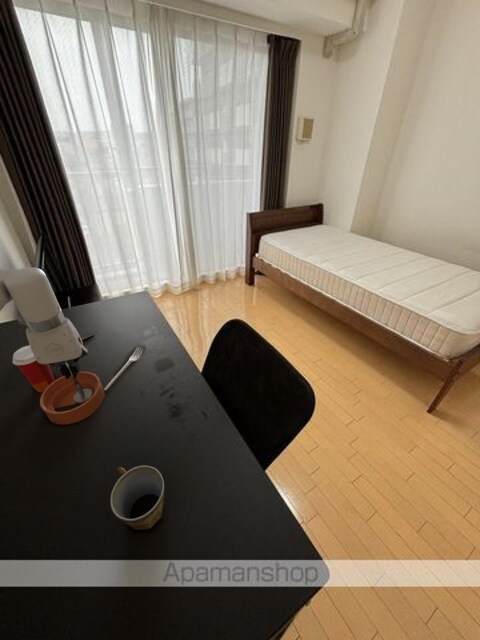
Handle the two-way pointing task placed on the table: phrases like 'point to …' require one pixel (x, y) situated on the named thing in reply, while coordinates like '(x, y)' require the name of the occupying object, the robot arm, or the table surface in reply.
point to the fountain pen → (87, 338)
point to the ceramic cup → (137, 495)
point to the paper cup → (33, 369)
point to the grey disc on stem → (79, 389)
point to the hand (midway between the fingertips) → (72, 374)
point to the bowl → (71, 398)
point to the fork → (131, 359)
